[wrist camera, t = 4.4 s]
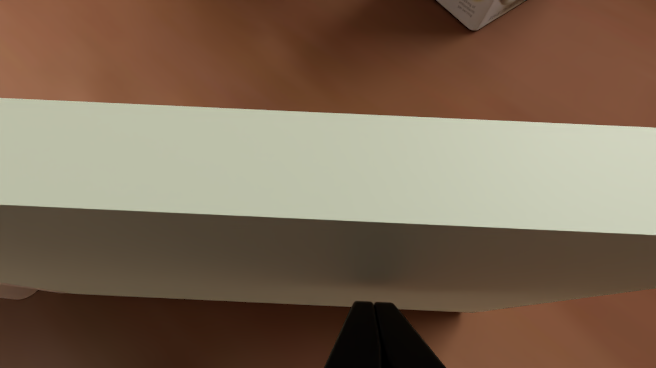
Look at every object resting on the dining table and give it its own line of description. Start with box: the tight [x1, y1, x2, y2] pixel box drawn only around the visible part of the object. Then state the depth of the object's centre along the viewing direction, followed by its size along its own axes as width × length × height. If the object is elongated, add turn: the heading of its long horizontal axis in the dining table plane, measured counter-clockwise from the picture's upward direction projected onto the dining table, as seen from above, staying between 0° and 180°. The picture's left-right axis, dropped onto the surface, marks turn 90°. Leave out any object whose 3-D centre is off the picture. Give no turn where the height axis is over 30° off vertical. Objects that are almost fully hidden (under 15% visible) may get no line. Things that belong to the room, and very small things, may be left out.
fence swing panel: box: [0, 98, 656, 313], centre depth 9 cm, size 17×1×12 cm, turn 87°
